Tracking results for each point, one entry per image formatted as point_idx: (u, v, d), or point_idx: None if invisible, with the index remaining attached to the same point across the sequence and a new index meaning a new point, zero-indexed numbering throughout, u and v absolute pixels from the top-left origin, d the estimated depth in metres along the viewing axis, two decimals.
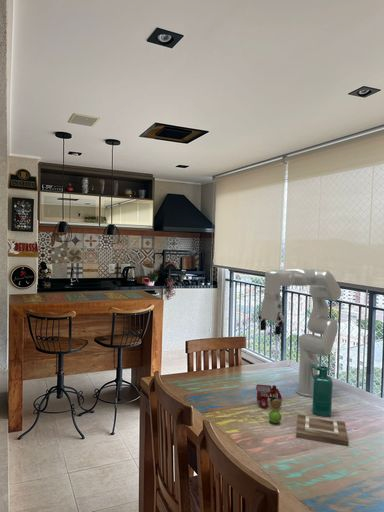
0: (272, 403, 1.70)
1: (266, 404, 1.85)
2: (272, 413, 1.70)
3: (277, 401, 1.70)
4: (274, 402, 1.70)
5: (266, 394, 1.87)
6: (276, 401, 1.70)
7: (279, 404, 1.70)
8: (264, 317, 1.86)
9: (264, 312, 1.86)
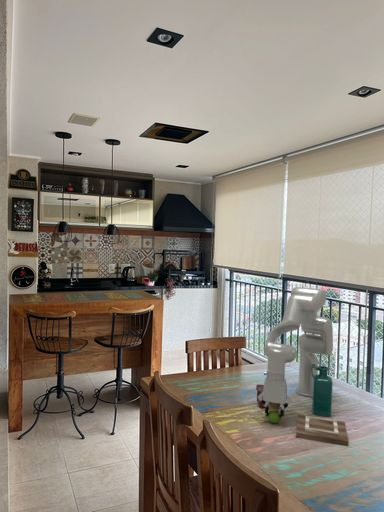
0: (271, 403, 1.70)
1: None
2: (271, 413, 1.70)
3: None
4: None
5: None
6: None
7: (278, 404, 1.70)
8: None
9: None
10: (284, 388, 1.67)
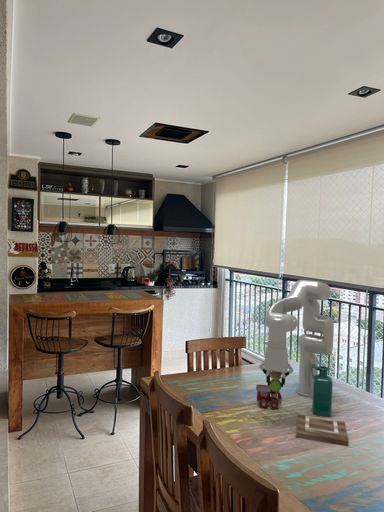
0: (273, 372, 1.70)
1: (266, 404, 1.85)
2: (273, 381, 1.70)
3: None
4: None
5: (266, 394, 1.87)
6: None
7: (280, 373, 1.70)
8: None
9: None
10: (286, 356, 1.67)
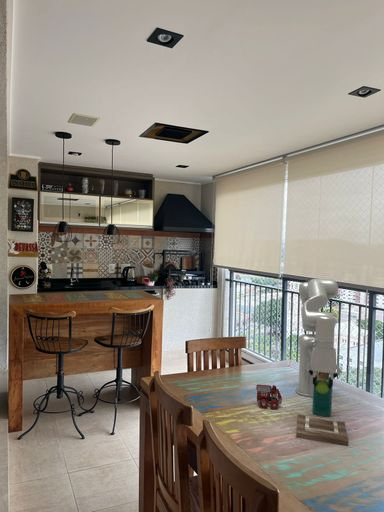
0: (320, 373, 1.63)
1: (266, 404, 1.85)
2: (320, 383, 1.62)
3: None
4: None
5: (266, 394, 1.87)
6: None
7: (327, 374, 1.63)
8: None
9: None
10: (334, 357, 1.60)
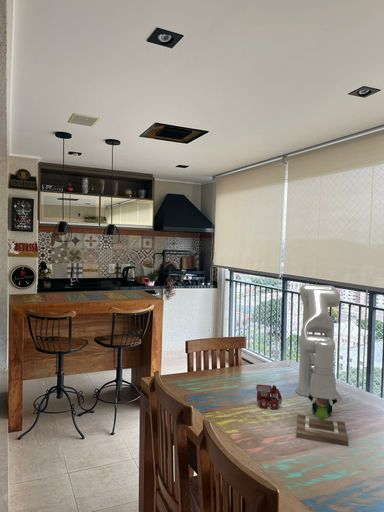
0: (319, 399, 1.63)
1: (266, 404, 1.85)
2: (319, 409, 1.62)
3: None
4: None
5: (266, 394, 1.87)
6: None
7: (327, 400, 1.63)
8: None
9: None
10: (334, 383, 1.60)
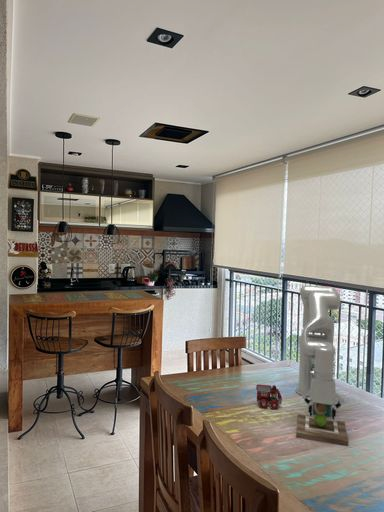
0: (318, 406, 1.63)
1: (266, 404, 1.85)
2: (318, 416, 1.63)
3: (323, 404, 1.63)
4: (320, 405, 1.63)
5: (266, 394, 1.87)
6: (322, 404, 1.63)
7: (325, 407, 1.63)
8: None
9: None
10: (334, 388, 1.60)
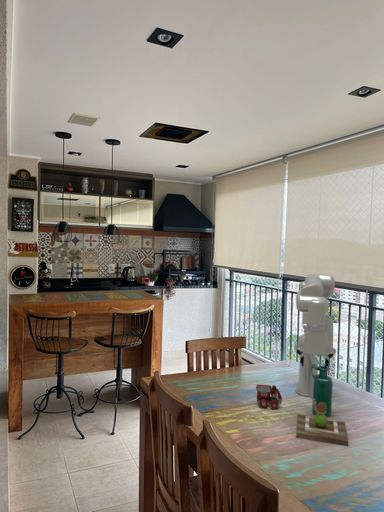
0: (318, 406, 1.63)
1: (266, 404, 1.85)
2: (318, 416, 1.63)
3: (323, 404, 1.63)
4: (320, 405, 1.63)
5: (266, 394, 1.87)
6: (322, 404, 1.63)
7: (325, 407, 1.63)
8: None
9: None
10: (326, 339, 1.64)
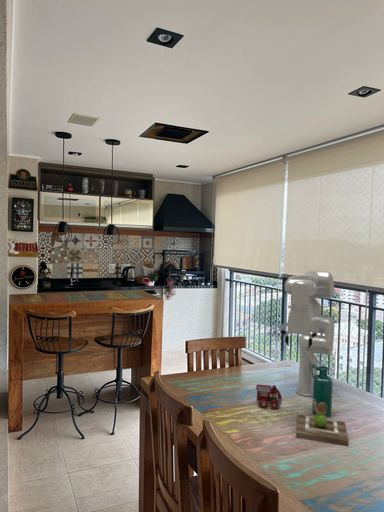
0: (318, 406, 1.63)
1: (266, 404, 1.85)
2: (318, 416, 1.63)
3: (323, 404, 1.63)
4: (320, 405, 1.63)
5: (266, 394, 1.87)
6: (322, 404, 1.63)
7: (325, 407, 1.63)
8: None
9: None
10: (309, 319, 1.71)
